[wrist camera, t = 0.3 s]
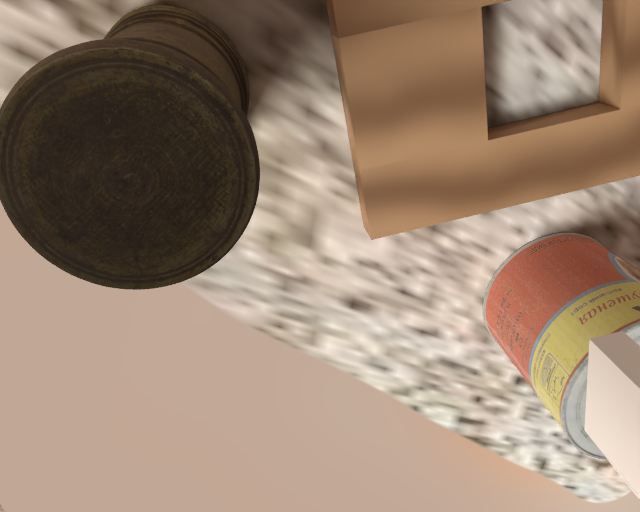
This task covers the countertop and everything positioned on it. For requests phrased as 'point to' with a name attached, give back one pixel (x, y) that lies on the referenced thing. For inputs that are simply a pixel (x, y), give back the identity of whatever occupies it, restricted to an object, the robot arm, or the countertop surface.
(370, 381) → the countertop surface
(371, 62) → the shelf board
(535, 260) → the canned food
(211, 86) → the container
